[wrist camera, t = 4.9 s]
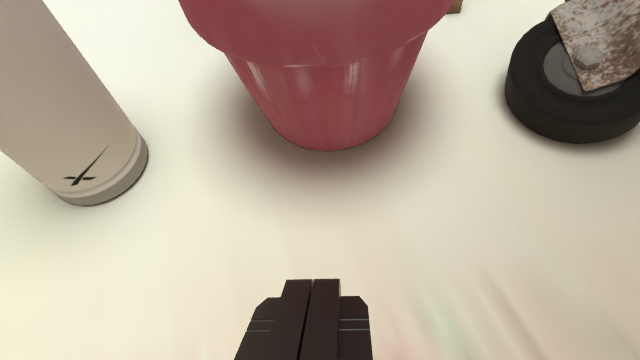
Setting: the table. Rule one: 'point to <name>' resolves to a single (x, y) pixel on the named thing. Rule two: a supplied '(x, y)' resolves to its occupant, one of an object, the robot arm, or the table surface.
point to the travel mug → (61, 111)
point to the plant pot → (320, 60)
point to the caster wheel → (579, 72)
